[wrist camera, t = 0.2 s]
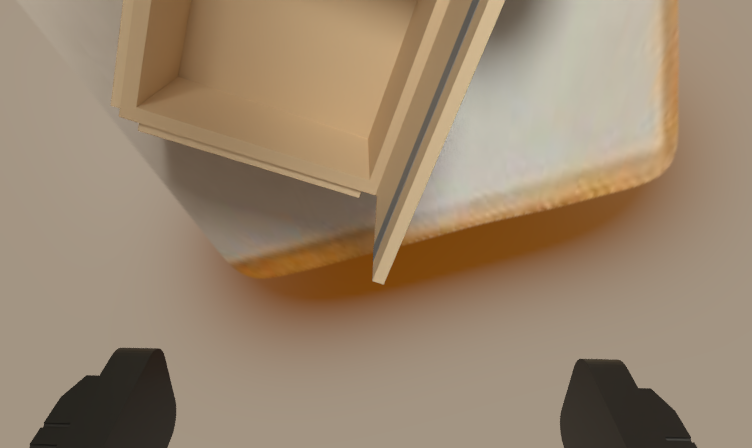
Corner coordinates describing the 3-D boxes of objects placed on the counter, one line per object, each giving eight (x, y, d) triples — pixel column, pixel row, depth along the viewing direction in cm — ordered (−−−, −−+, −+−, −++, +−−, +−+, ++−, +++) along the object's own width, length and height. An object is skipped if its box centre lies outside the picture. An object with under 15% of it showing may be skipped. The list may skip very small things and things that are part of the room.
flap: (497, -125, 23) (558, -169, 15) (508, -120, 24) (575, -162, 15) (376, 190, 31) (371, 280, 22) (385, 193, 31) (383, 284, 22)
